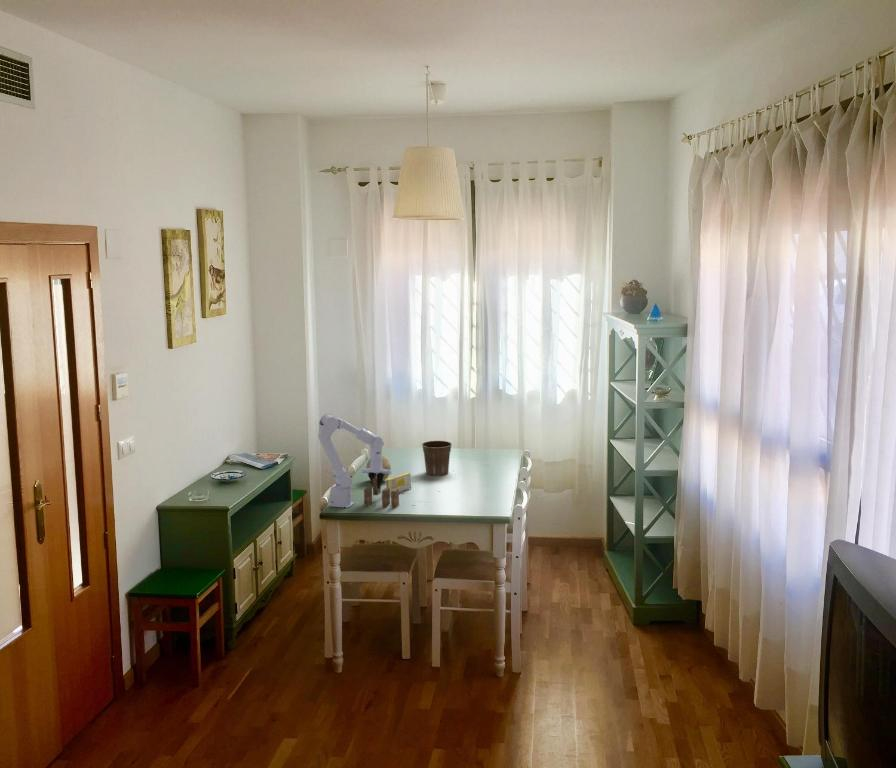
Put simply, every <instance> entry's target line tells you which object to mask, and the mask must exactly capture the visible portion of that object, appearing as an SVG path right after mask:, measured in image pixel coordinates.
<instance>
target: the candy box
mask: <svg viewBox="0 0 896 768" xmlns="http://www.w3.org/2000/svg"><path fill="white" fill-rule="evenodd" d="M411 481H412V479H411V472H406V473H403V474H400V475H396V476H393V477H389V478H386V479H385V485H386V487H385V488H390V495H391V491H392V490H393V489H394V488H396V489H399V492H400V493H402V492H401V491H403V492H405V491H404V490H406V491H408V490H407V489H409V488H411V489H412V483H411ZM409 490H410V489H409Z"/></svg>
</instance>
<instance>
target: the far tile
mask: <svg viewBox="0 0 896 768" xmlns="http://www.w3.org/2000/svg"><path fill="white" fill-rule="evenodd" d="M390 505H391V506H390V507H391V508H392V509H396V508H397V507H399V506H400V493H399V489H396V488H394V489H393V490H392V491H391V496H390ZM398 505H399V506H398Z"/></svg>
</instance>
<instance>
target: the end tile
mask: <svg viewBox="0 0 896 768" xmlns="http://www.w3.org/2000/svg"><path fill="white" fill-rule="evenodd" d="M363 499H364V501H363V503H364V505H366V506H365V507H369V506H371V505H372V504H373V486H367V487H365V488H364V489H363ZM371 503H372V504H371ZM370 504H371V505H370ZM368 505H369V506H368Z"/></svg>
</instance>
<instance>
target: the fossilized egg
mask: <svg viewBox="0 0 896 768" xmlns="http://www.w3.org/2000/svg"><path fill="white" fill-rule="evenodd" d="M391 467H392V466H391V463H390V461H389V459H388V458H387V456H386V455H385V454H384V453H382V469H388V470H391V471H392V468H391ZM365 468H370V458H369V459H368V460H367V463H366V466H365ZM366 474H367V476H368V475H369V473H366ZM376 475H378V474H377V473H376ZM389 476H390V475H388V474H385V475H384V477H383V479H382V482H383V481H386V479H388V477H389Z"/></svg>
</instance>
